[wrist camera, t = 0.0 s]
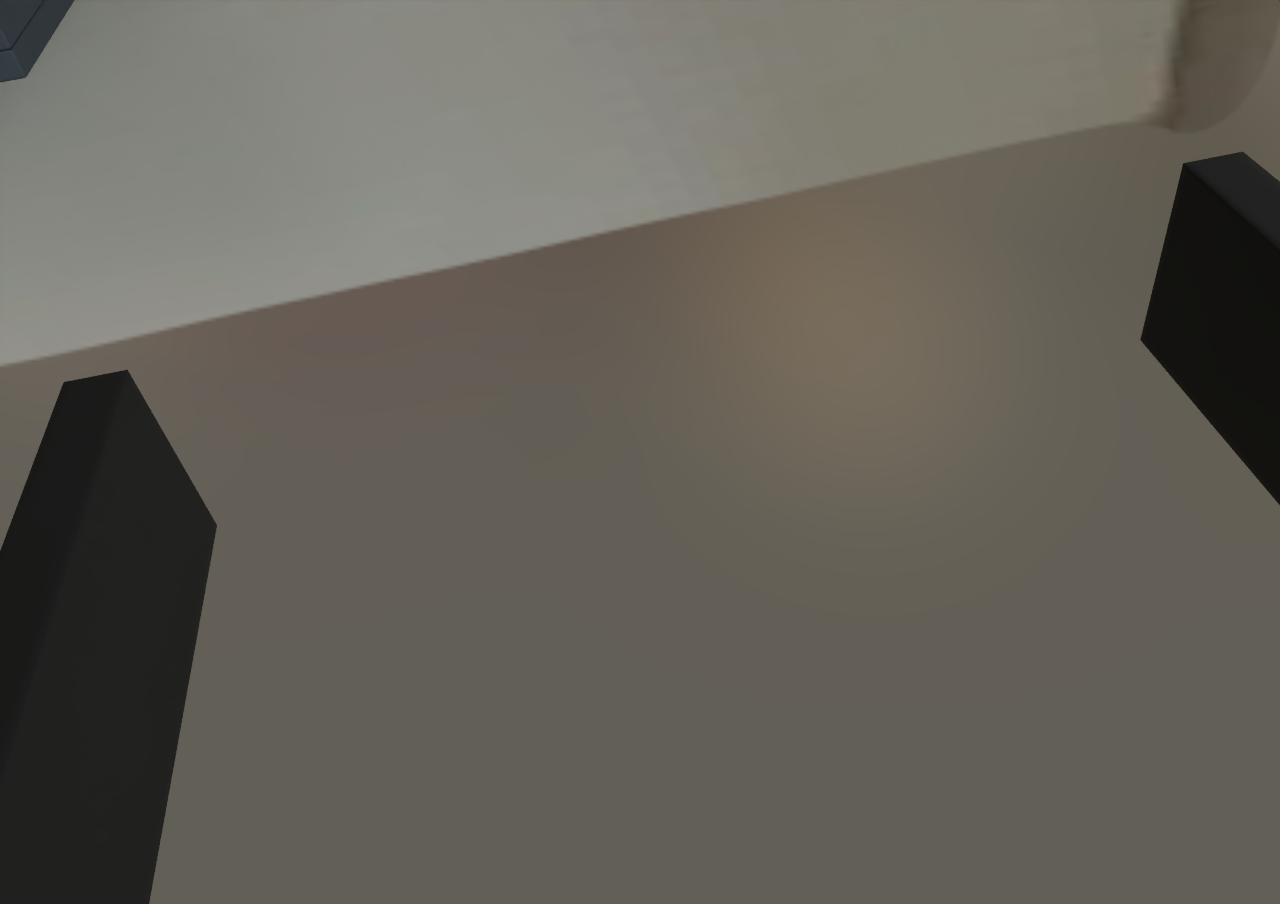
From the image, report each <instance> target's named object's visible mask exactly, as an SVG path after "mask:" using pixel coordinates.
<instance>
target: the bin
mask: <svg viewBox="0 0 1280 904" xmlns="http://www.w3.org/2000/svg"><path fill="white" fill-rule="evenodd" d="M73 1H74V0H0V82H5V81H10V80H16V79H21V78H25V77H26V76H27V75H28V73H29V72H30V70H31V68H32V67H33V65H34V64H35V62H36V60H37V59H38V57H39V56H40V54H41V52H42V51H43V49H44V48H45V46H46V45H47V43H48V41H49V40H50V38H51V37H52V35H53V33H54V32H55V30H56V29H57V27H58V25H59V24H60V22H61V21H62V19H63V17H64V16H65V14H66V13H67V11H68V9H69V8H70V6H71V5H72V3H73Z"/></svg>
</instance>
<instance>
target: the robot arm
mask: <svg viewBox="0 0 1280 904" xmlns="http://www.w3.org/2000/svg"><path fill="white" fill-rule="evenodd" d="M1141 341H1142V342H1143V344H1144V345H1145V346H1146V347H1147V348H1148V349H1149V351H1150V352H1151V353H1152V354H1153V355H1154V356H1155V358H1156V359H1157V360H1158V361H1159V362H1160V364H1161V365H1162V366H1163V367H1164V368H1165V369H1166V371H1167V372H1168V373H1169V374H1170V375H1171V377H1172V378H1173V379H1174V380H1175V382H1176V383H1177V384H1178V385H1179V386H1180V387H1181V389H1182V390H1183V391H1184V392H1185V393H1186V395H1187V396H1188V397H1189V398H1190V399H1191V400H1192V402H1193V403H1194V404H1195V405H1196V406H1197V408H1198V409H1199V410H1200V411H1201V412H1202V414H1203V415H1204V416H1205V417H1206V418H1207V419H1208V421H1209V422H1210V423H1211V424H1212V425H1213V427H1214V428H1215V429H1216V430H1217V431H1218V432H1219V434H1220V435H1221V436H1222V437H1223V438H1224V440H1225V441H1226V442H1227V443H1228V444H1229V445H1230V447H1231V448H1232V449H1233V450H1234V451H1235V453H1236V454H1237V455H1238V456H1239V457H1240V459H1241V460H1242V461H1243V462H1244V463H1245V464H1246V466H1247V467H1248V468H1249V469H1250V470H1251V471H1252V473H1253V474H1254V475H1255V476H1256V478H1257V479H1258V480H1259V481H1260V482H1261V483H1262V485H1263V486H1264V487H1265V488H1266V489H1267V491H1268V492H1269V493H1270V494H1271V495H1272V497H1274V499H1275V500H1276V501H1277V502H1278V504H1280V182H1279V181H1278V180H1277V179H1275V178H1274V177H1273V176H1272V175H1271V174H1269V173H1268V172H1267V171H1266V170H1265V169H1263V168H1262V167H1261V166H1260V165H1258V164H1257V163H1256V162H1255V161H1253V160H1252V159H1251V158H1250V157H1249V156H1247V155H1246V154H1245V153H1244V152H1239V153H1234V154H1229V155H1224V156H1219V157H1213V158H1208V159H1203V160H1198V161H1193V162H1188V163H1184V164H1183V167H1182V171H1181V175H1180V179H1179V183H1178V187H1177V191H1176V196H1175V200H1174V204H1173V208H1172V212H1171V216H1170V220H1169V224H1168V229H1167V233H1166V237H1165V241H1164V245H1163V249H1162V253H1161V257H1160V262H1159V266H1158V270H1157V274H1156V278H1155V282H1154V286H1153V290H1152V295H1151V299H1150V303H1149V307H1148V311H1147V315H1146V320H1145V323H1144V327H1143V332H1142V336H1141ZM216 528H217V525H216V523H215V521H214V519H213V518H212V516H211V514H210V513H209V511H208V509H207V507H206V506H205V504H204V502H203V500H202V499H201V497H200V495H199V493H198V492H197V490H196V488H195V486H194V485H193V483H192V481H191V480H190V478H189V476H188V474H187V472H186V471H185V469H184V467H183V465H182V464H181V462H180V460H179V459H178V457H177V455H176V453H175V452H174V450H173V448H172V446H171V445H170V443H169V441H168V439H167V438H166V436H165V434H164V432H163V431H162V429H161V427H160V426H159V424H158V422H157V420H156V419H155V417H154V415H153V413H152V412H151V410H150V408H149V407H148V405H147V403H146V401H145V399H144V398H143V396H142V394H141V393H140V391H139V389H138V387H137V386H136V384H135V382H134V380H133V379H132V377H131V375H130V373H129V372H128V370H124V371H119V372H114V373H109V374H103V375H98V376H93V377H89V378H83V379H78V380H73V381H68V382H64V383H63V386H62V388H61V391H60V393H59V396H58V399H57V401H56V404H55V407H54V409H53V412H52V415H51V417H50V420H49V423H48V426H47V428H46V431H45V434H44V436H43V439H42V441H41V444H40V447H39V449H38V452H37V455H36V457H35V460H34V463H33V465H32V468H31V471H30V473H29V476H28V479H27V481H26V484H25V487H24V489H23V492H22V495H21V497H20V500H19V503H18V505H17V508H16V511H15V513H14V516H13V519H12V521H11V524H10V527H9V530H8V532H7V535H6V537H5V540H4V543H3V545H2V548H1V550H0V904H149V901H150V895H151V890H152V883H153V879H154V872H155V867H156V861H157V856H158V850H159V845H160V839H161V834H162V828H163V822H164V817H165V812H166V806H167V801H168V794H169V789H170V784H171V778H172V773H173V767H174V761H175V756H176V750H177V744H178V739H179V733H180V728H181V723H182V717H183V711H184V705H185V700H186V694H187V689H188V684H189V678H190V672H191V667H192V661H193V655H194V650H195V645H196V639H197V633H198V628H199V622H200V616H201V611H202V605H203V600H204V594H205V588H206V583H207V578H208V572H209V567H210V561H211V555H212V549H213V544H214V538H215V533H216Z"/></svg>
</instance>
